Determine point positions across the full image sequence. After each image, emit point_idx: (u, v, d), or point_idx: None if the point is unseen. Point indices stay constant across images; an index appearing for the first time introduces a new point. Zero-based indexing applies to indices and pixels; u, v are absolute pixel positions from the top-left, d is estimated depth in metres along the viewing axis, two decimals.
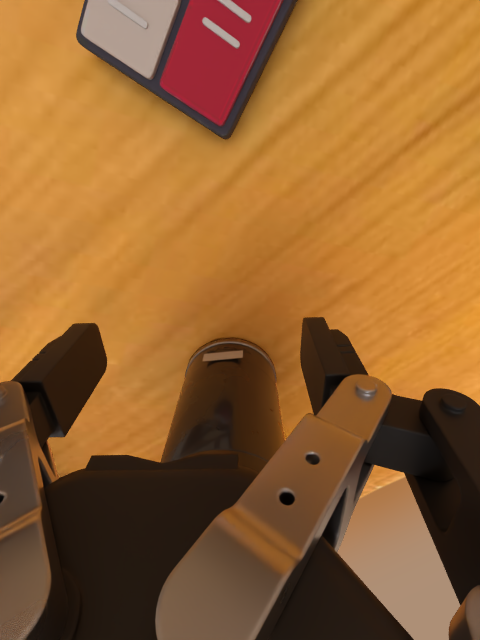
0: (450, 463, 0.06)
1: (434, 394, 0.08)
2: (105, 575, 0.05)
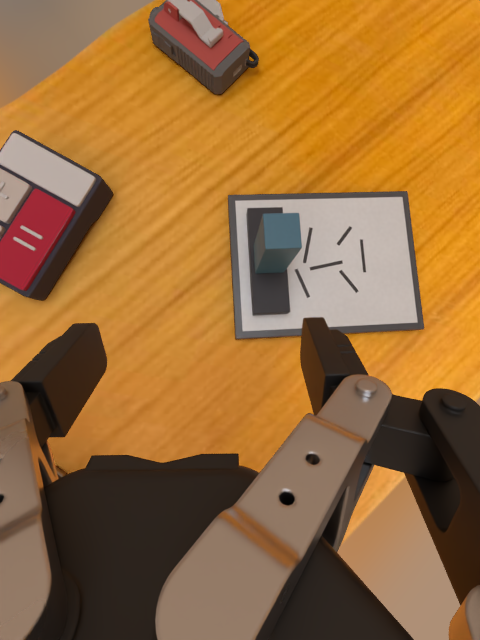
0: (450, 462, 0.06)
1: (434, 394, 0.08)
2: (105, 574, 0.05)
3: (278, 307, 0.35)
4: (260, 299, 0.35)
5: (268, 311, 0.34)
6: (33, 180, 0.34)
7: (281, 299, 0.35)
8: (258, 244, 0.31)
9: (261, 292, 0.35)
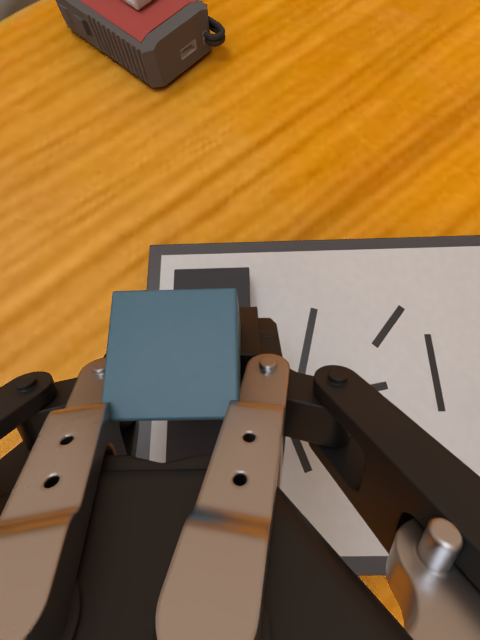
0: (349, 430, 0.07)
1: (321, 372, 0.09)
2: (106, 575, 0.05)
3: None
4: None
5: None
6: None
7: None
8: None
9: None
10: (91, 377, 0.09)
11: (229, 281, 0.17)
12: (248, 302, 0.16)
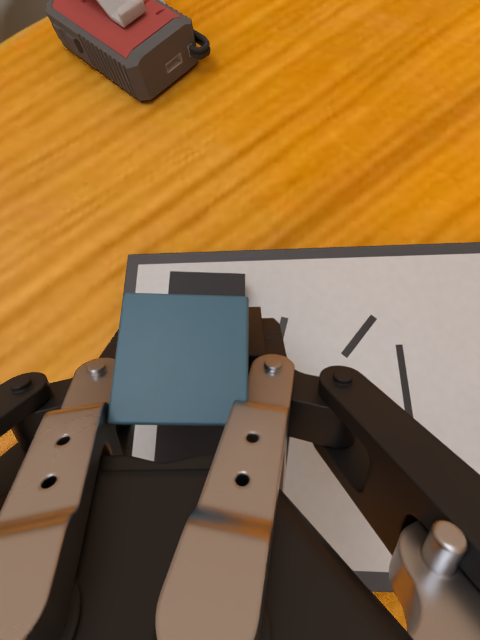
0: (355, 430, 0.07)
1: (326, 373, 0.09)
2: (105, 575, 0.05)
3: None
4: None
5: None
6: None
7: None
8: None
9: None
10: (86, 378, 0.09)
11: (225, 286, 0.17)
12: None
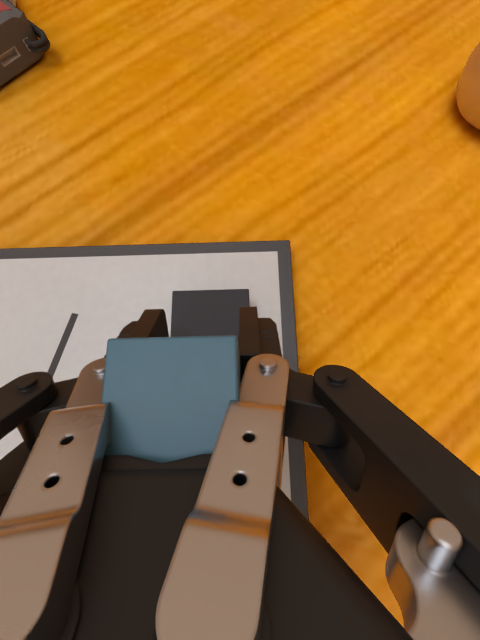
0: (349, 429, 0.07)
1: (321, 372, 0.09)
2: (105, 575, 0.05)
3: None
4: None
5: None
6: None
7: None
8: None
9: None
10: (91, 377, 0.09)
11: (229, 303, 0.16)
12: None
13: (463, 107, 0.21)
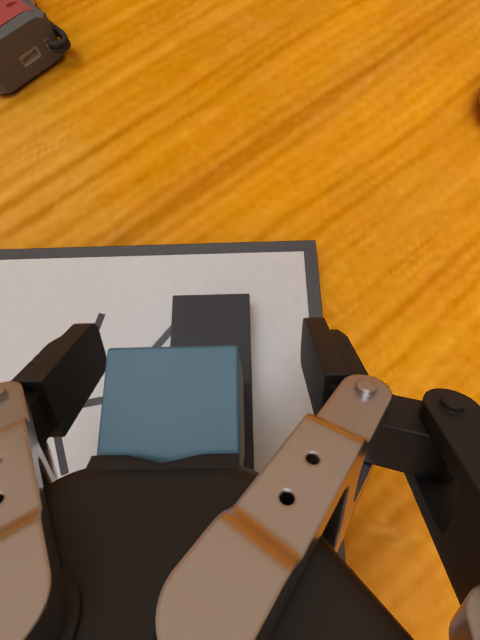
0: (449, 462, 0.06)
1: (434, 394, 0.08)
2: (105, 575, 0.05)
3: None
4: None
5: None
6: None
7: None
8: None
9: None
10: None
11: (229, 308, 0.16)
12: (248, 330, 0.16)
13: None
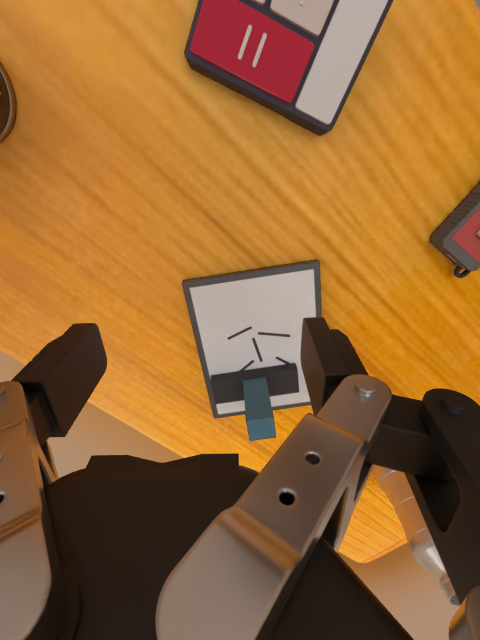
0: (450, 462, 0.06)
1: (434, 394, 0.08)
2: (105, 575, 0.05)
3: (217, 396, 0.45)
4: (222, 385, 0.44)
5: (213, 390, 0.44)
6: (325, 39, 0.27)
7: (224, 398, 0.45)
8: (258, 396, 0.40)
9: (228, 385, 0.44)
10: None
11: (293, 387, 0.45)
12: None
13: None
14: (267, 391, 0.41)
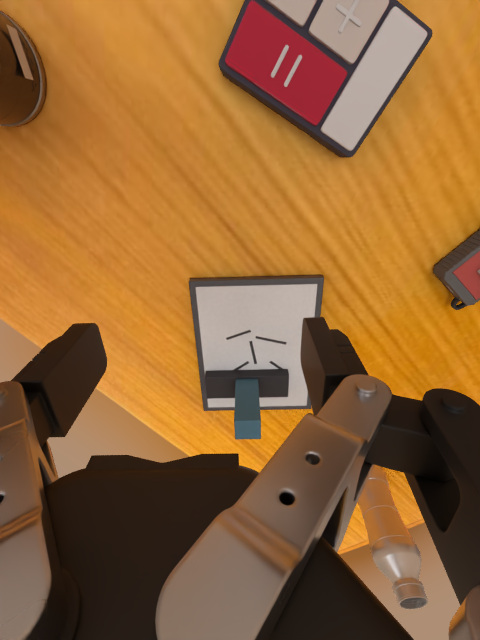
0: (450, 463, 0.06)
1: (434, 394, 0.08)
2: (105, 575, 0.05)
3: (209, 392, 0.47)
4: (215, 381, 0.46)
5: (206, 386, 0.46)
6: (358, 68, 0.28)
7: (216, 394, 0.47)
8: (248, 398, 0.42)
9: (221, 382, 0.46)
10: None
11: (282, 391, 0.46)
12: None
13: None
14: (257, 394, 0.43)
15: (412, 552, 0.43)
